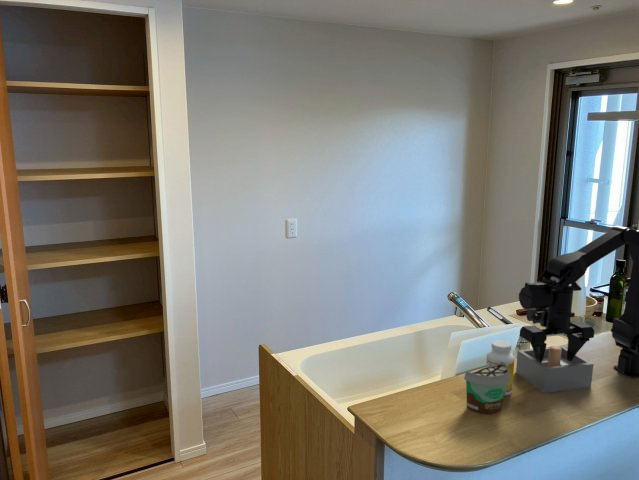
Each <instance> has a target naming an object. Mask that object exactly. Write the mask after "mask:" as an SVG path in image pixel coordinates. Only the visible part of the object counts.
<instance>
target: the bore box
mask: <svg viewBox="0 0 639 480" xmlns="http://www.w3.org/2000/svg"><path fill="white" fill-rule="evenodd" d="M556 346H557V345H556ZM549 347H550V346H546V349H545V353H544V357H543V360H542V363H540V362H538V361H537V360H536V357H535V354H534V351H533V348H528V349H518V350H517V356H516V367H515V373H516V372H517V373H518V374H517V373H516V374H517V375H519V376H520V377H521V376H522V377H521V378H523V379H524V380H525V381H527V383H529V384H530V385H532V386H533V387H535V388H536V389H537V390H539V391H540V392H542V393H543V394H548V393H555V392H564V391H571V390H572V391H573V390H578V389H586V388H587V389H588V388H591V387H592V380H593V373H594V363H593V362H591V361H589V360H588V359H586V358H584V357H582V356H581V355H579V354H576V355H575V356H574V358H573V359H572V360H571V361H568V360H567V348H568V347H565V346H563V345H558V346H557V347H560V348H561V349H562V352H561V361H560V366H555V367H547V366H548V356H549Z"/></svg>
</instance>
